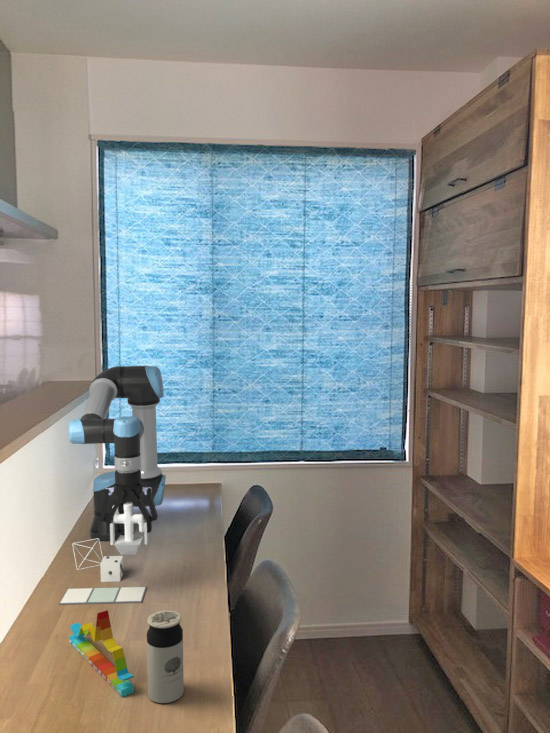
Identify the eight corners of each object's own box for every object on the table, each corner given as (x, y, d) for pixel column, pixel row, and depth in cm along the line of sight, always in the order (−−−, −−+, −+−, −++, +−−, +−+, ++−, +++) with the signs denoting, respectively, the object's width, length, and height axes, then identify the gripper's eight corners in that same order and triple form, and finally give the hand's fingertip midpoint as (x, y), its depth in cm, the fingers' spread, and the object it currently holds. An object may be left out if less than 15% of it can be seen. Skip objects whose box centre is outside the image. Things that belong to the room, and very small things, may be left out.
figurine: (142, 556, 191) (141, 506, 190) (110, 556, 191) (109, 506, 190) (147, 547, 199) (146, 499, 197) (116, 547, 199) (115, 499, 197)
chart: (68, 643, 170) (66, 588, 168) (80, 639, 172) (78, 584, 170) (120, 698, 146) (119, 635, 145) (133, 693, 148) (132, 630, 147)
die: (104, 574, 212) (104, 554, 211) (124, 573, 212) (124, 554, 211) (100, 582, 205) (100, 563, 205) (121, 582, 206) (120, 562, 205)
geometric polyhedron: (107, 559, 224) (106, 537, 223) (100, 569, 215) (100, 547, 214) (76, 559, 224) (76, 538, 223) (69, 570, 215) (68, 548, 214)
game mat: (67, 589, 200) (67, 588, 200) (146, 587, 202) (146, 586, 202) (58, 604, 190) (58, 603, 190) (141, 602, 192) (141, 601, 192)
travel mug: (144, 688, 150) (142, 613, 148) (178, 680, 153) (177, 606, 151) (152, 708, 143) (151, 629, 141) (187, 699, 146) (186, 622, 144)
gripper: (87, 473, 188) (89, 548, 190) (163, 472, 189) (165, 547, 192) (92, 466, 196) (95, 539, 198) (166, 465, 197) (168, 537, 199)
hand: (129, 543), depth 195 cm, fingers closed on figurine, 9 cm apart
